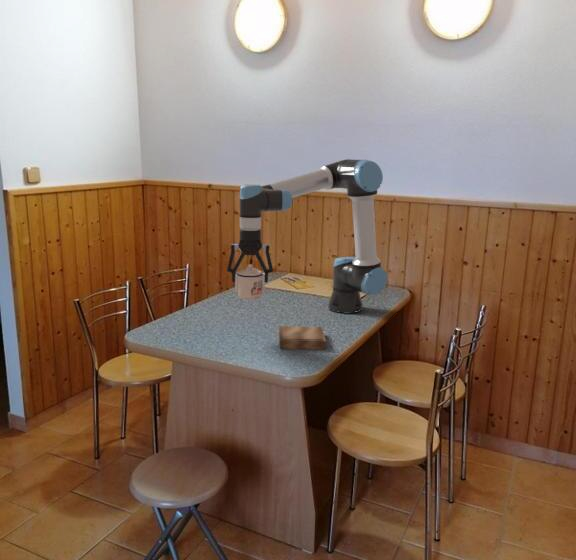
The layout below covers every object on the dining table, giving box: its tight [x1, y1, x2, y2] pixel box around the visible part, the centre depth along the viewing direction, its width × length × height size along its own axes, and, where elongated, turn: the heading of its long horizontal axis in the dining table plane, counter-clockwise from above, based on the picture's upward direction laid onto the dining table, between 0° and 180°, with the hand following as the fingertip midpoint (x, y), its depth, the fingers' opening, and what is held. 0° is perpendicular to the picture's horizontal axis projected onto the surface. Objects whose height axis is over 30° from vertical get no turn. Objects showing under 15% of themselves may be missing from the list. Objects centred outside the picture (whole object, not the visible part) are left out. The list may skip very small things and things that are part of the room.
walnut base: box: [278, 325, 327, 350], centre depth 198 cm, size 16×16×3 cm
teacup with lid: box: [237, 264, 264, 301], centre depth 198 cm, size 12×9×12 cm
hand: (250, 290), depth 199 cm, fingers closed on teacup with lid, 9 cm apart
